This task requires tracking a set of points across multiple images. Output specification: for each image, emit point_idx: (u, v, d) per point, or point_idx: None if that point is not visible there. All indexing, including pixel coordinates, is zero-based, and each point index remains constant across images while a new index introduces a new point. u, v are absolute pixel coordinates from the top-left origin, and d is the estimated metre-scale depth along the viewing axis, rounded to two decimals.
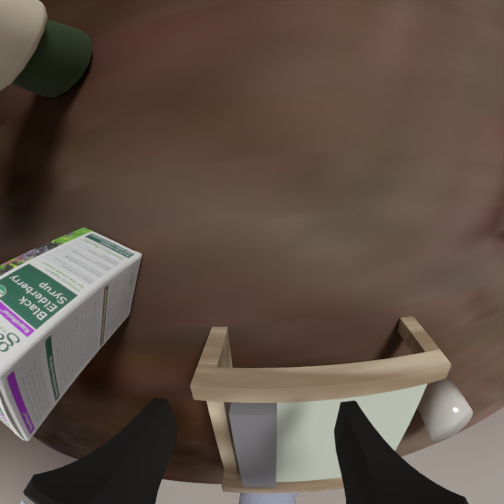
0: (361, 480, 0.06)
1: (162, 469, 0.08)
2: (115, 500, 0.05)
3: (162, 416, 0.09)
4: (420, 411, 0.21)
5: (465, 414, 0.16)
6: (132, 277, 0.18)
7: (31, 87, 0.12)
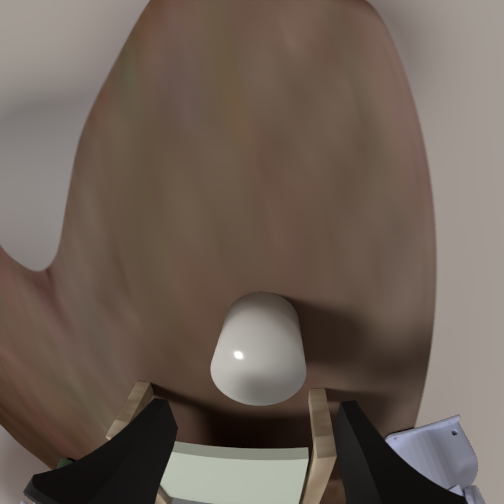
0: (361, 480, 0.06)
1: (162, 469, 0.08)
2: (115, 500, 0.05)
3: (162, 416, 0.09)
4: None
5: (230, 360, 0.13)
6: None
7: None
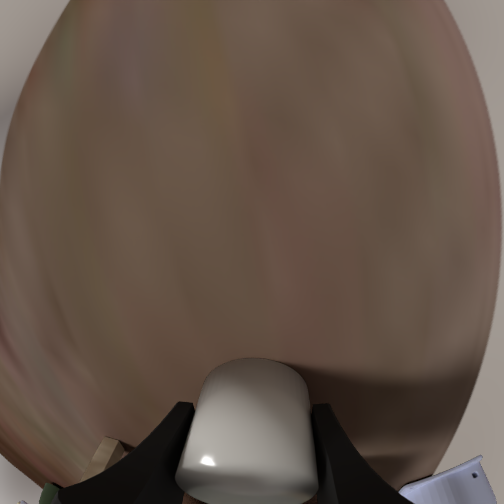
0: (327, 485, 0.06)
1: None
2: None
3: (188, 420, 0.09)
4: None
5: (202, 477, 0.06)
6: None
7: None
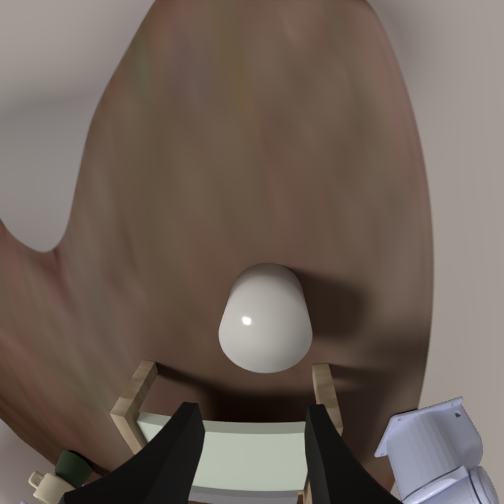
0: (320, 486, 0.06)
1: (192, 474, 0.08)
2: None
3: (193, 420, 0.09)
4: None
5: (238, 322, 0.14)
6: None
7: (83, 479, 0.27)
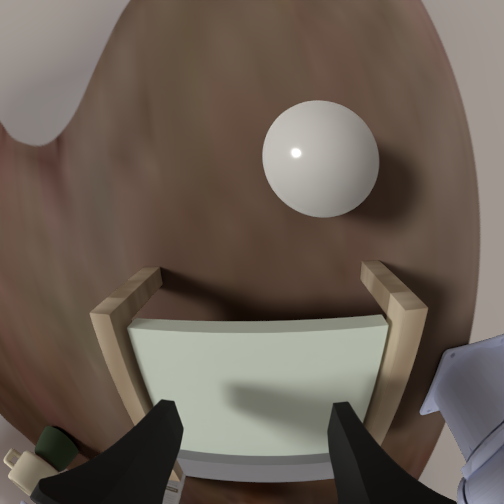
0: (352, 482, 0.06)
1: (169, 470, 0.08)
2: (123, 503, 0.05)
3: (169, 417, 0.09)
4: None
5: (289, 134, 0.10)
6: None
7: (67, 461, 0.23)
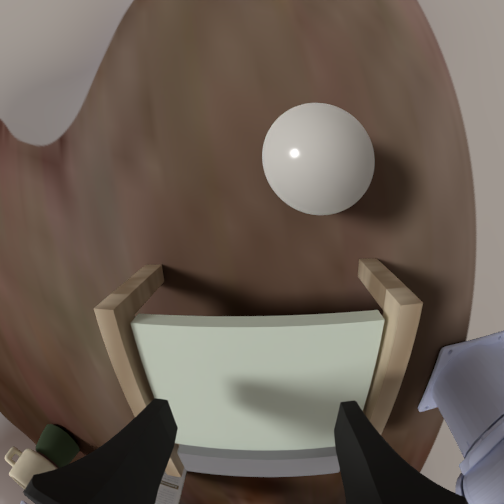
0: (361, 480, 0.06)
1: (162, 469, 0.08)
2: (115, 500, 0.05)
3: (162, 416, 0.09)
4: None
5: (287, 135, 0.11)
6: None
7: (68, 459, 0.23)
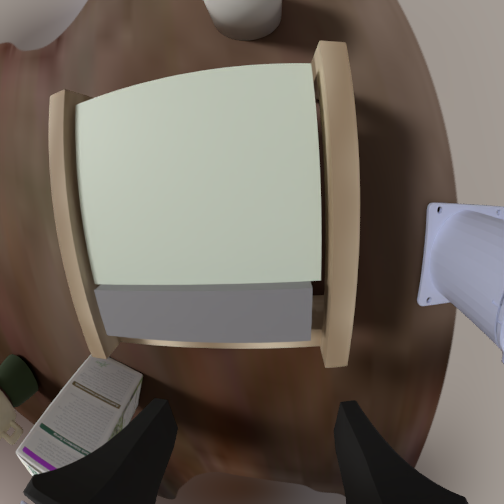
0: (361, 480, 0.06)
1: (162, 469, 0.08)
2: (115, 500, 0.05)
3: (162, 416, 0.09)
4: (254, 30, 0.13)
5: None
6: (101, 362, 0.22)
7: (22, 393, 0.22)
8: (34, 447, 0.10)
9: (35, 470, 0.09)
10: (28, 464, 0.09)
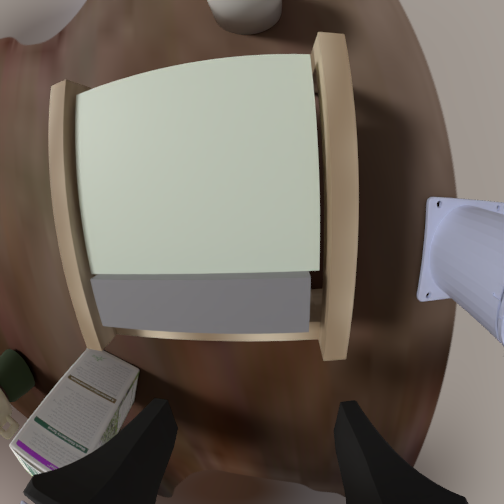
0: (361, 480, 0.06)
1: (162, 469, 0.08)
2: (115, 500, 0.05)
3: (162, 416, 0.09)
4: (254, 24, 0.13)
5: None
6: (97, 356, 0.21)
7: (19, 388, 0.22)
8: (28, 440, 0.10)
9: (28, 464, 0.09)
10: (21, 457, 0.09)
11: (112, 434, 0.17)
